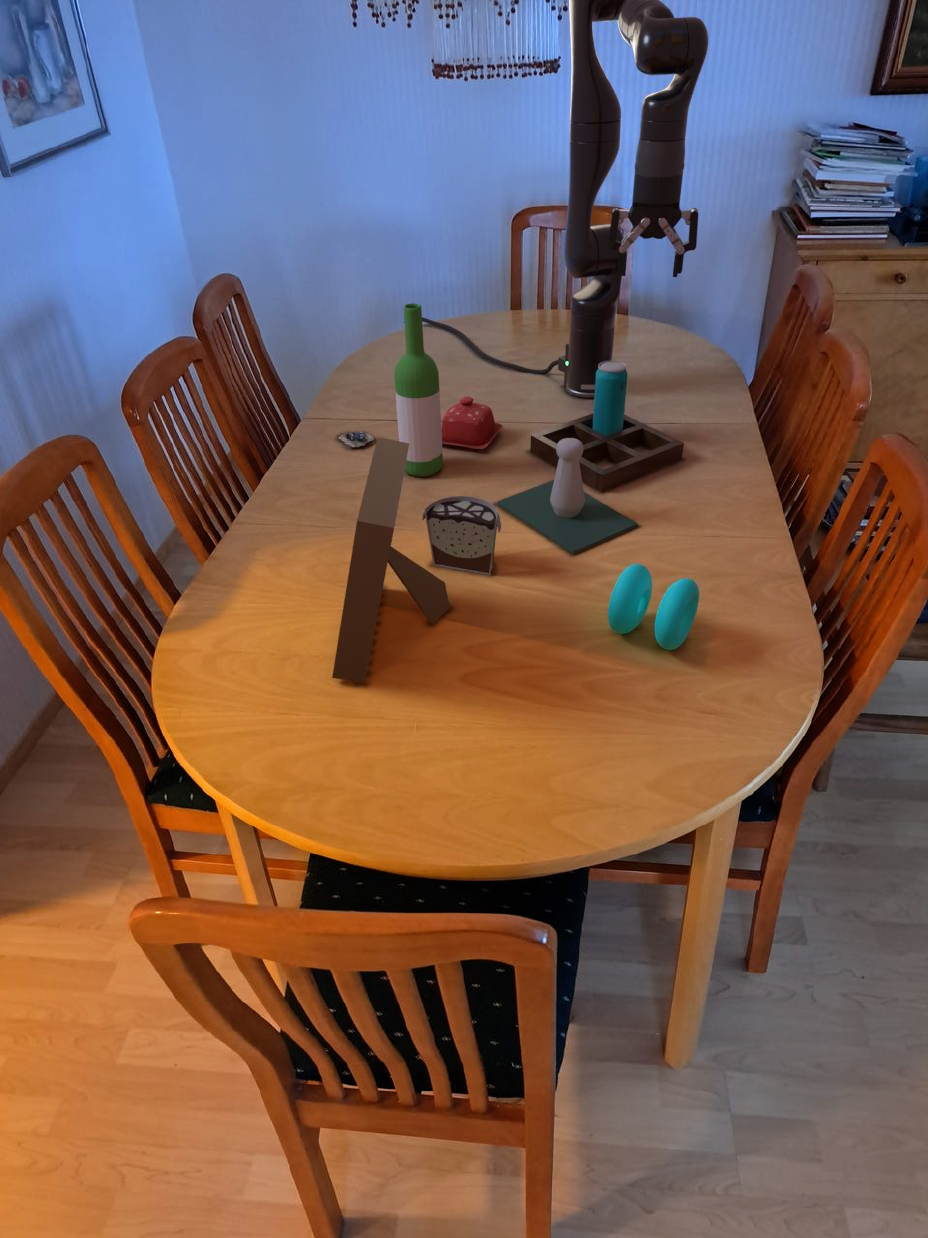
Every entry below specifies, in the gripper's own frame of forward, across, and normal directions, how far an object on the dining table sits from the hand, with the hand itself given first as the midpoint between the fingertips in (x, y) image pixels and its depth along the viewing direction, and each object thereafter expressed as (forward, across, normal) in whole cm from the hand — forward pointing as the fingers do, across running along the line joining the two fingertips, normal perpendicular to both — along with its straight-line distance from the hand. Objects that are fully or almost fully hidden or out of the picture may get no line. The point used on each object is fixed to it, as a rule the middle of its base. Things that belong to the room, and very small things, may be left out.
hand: (648, 275), depth 151 cm
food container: (+32, +25, +42) cm, 58 cm away
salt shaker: (+32, +10, +26) cm, 42 cm away
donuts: (+32, -4, +57) cm, 66 cm away
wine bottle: (+32, +38, +13) cm, 52 cm away
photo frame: (+32, +32, +62) cm, 76 cm away
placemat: (+32, +11, +26) cm, 43 cm away
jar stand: (+32, +5, +4) cm, 33 cm away
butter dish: (+32, +32, -1) cm, 45 cm away
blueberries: (+32, +54, +3) cm, 63 cm away
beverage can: (+32, +5, -3) cm, 33 cm away
